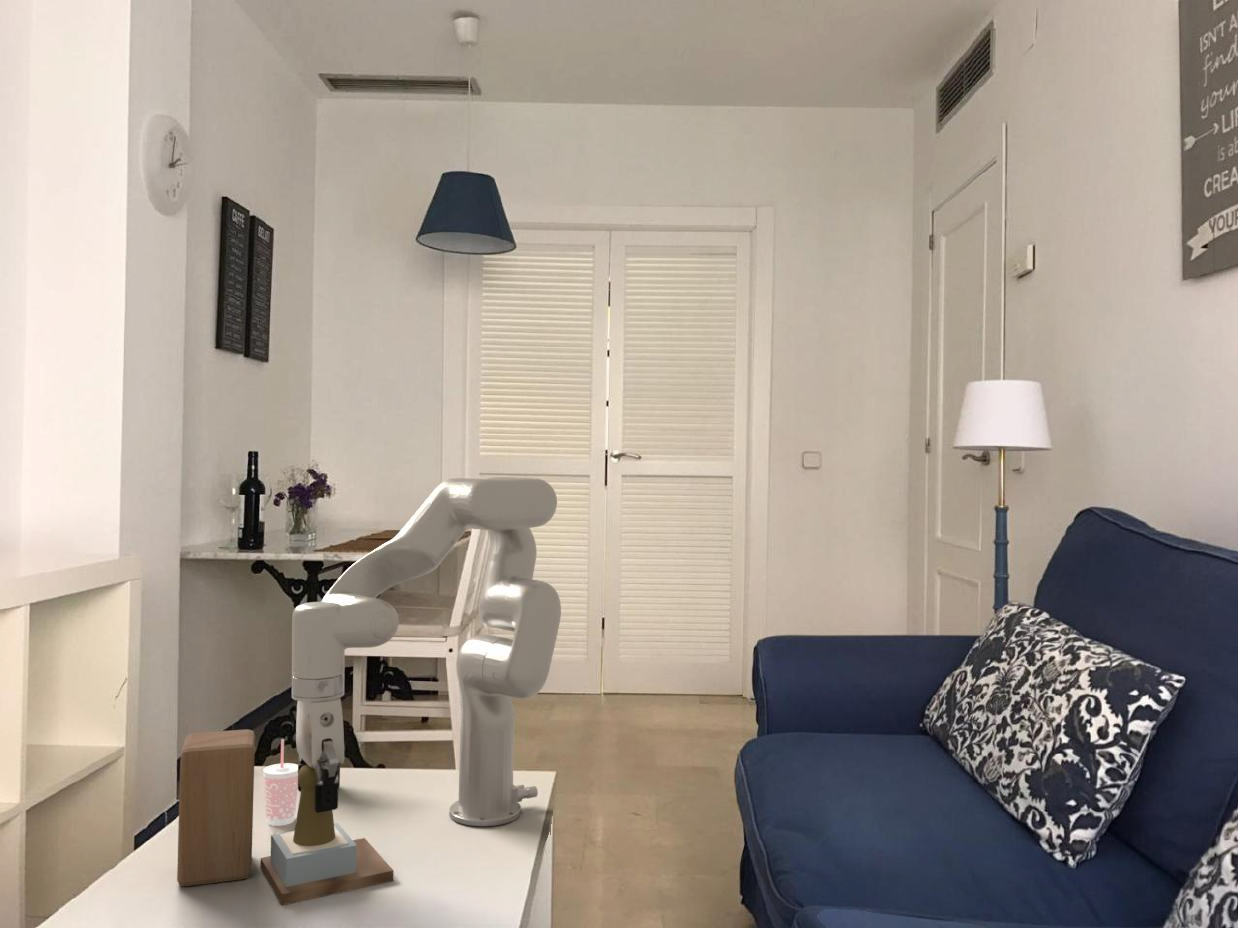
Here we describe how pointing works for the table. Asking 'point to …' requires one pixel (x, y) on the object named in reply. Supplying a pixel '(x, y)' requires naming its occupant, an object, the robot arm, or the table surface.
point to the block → (216, 807)
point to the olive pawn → (311, 813)
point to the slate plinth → (312, 858)
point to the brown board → (367, 874)
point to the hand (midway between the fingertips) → (317, 799)
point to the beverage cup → (281, 791)
